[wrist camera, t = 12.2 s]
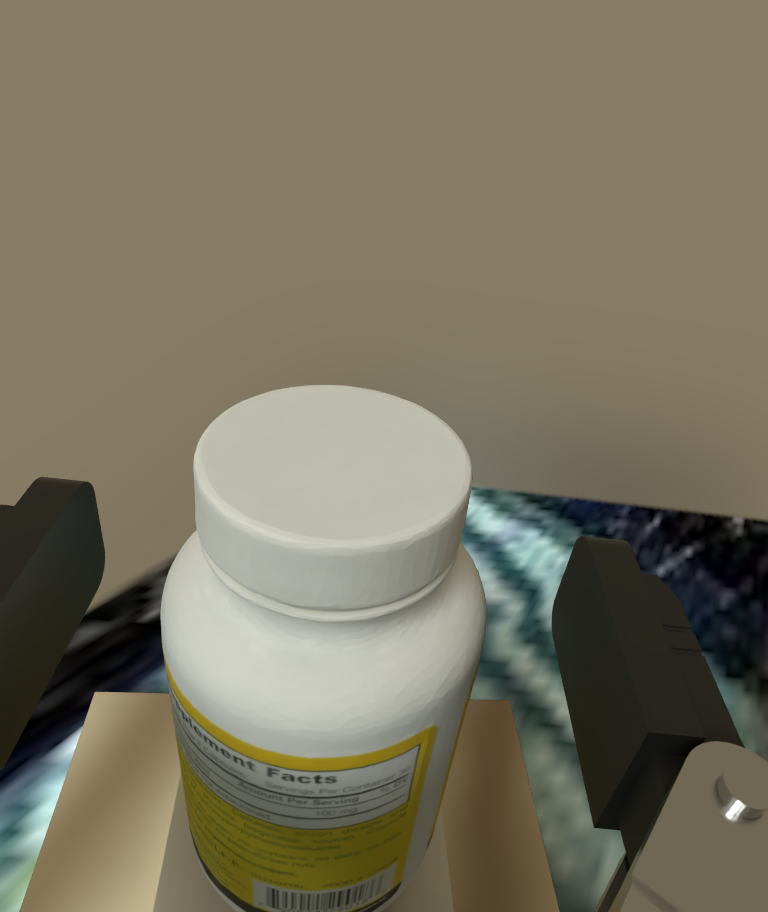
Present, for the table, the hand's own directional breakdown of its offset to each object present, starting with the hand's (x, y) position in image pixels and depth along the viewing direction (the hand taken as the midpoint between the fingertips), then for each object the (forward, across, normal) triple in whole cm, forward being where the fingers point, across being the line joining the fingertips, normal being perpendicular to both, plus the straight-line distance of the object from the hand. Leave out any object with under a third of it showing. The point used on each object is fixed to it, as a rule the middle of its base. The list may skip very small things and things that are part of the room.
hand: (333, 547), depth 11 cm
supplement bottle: (0, 0, +8) cm, 8 cm away
